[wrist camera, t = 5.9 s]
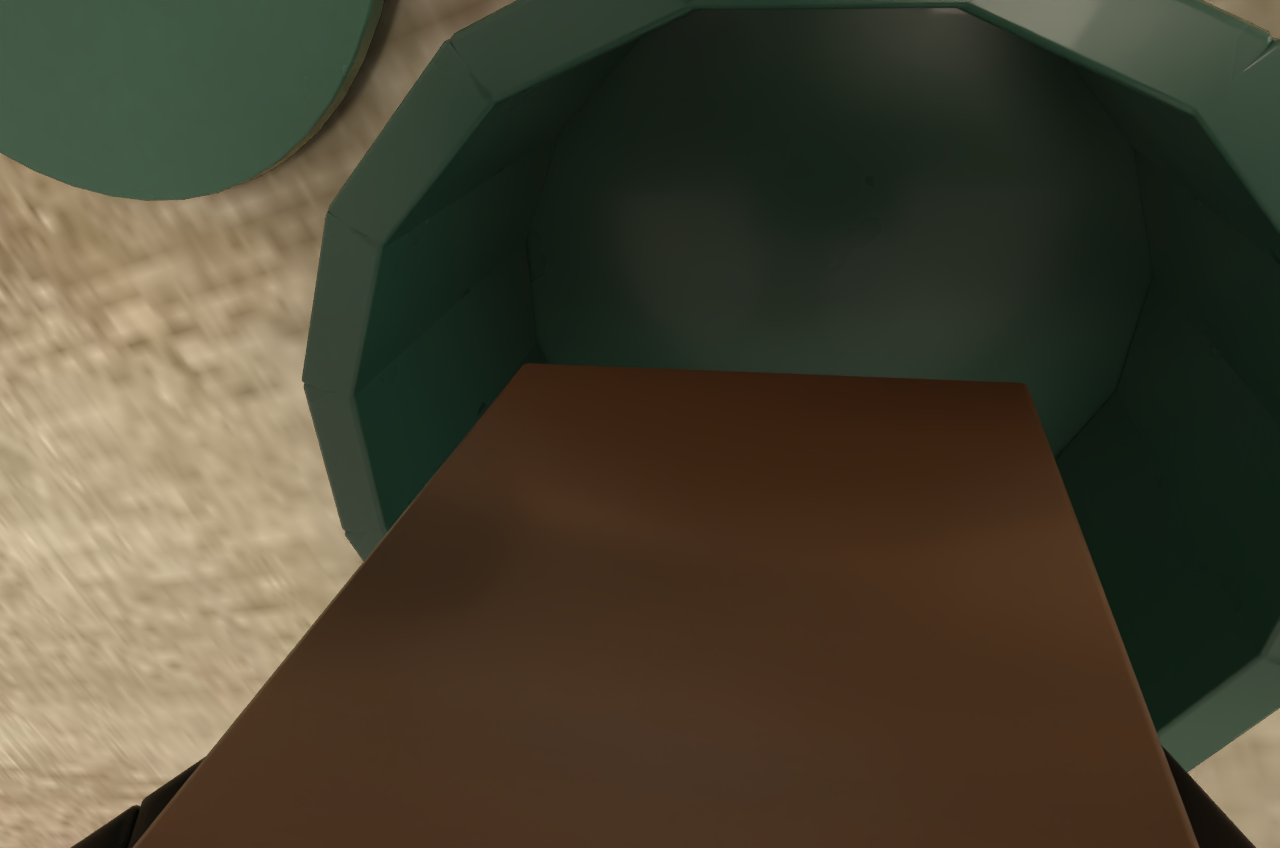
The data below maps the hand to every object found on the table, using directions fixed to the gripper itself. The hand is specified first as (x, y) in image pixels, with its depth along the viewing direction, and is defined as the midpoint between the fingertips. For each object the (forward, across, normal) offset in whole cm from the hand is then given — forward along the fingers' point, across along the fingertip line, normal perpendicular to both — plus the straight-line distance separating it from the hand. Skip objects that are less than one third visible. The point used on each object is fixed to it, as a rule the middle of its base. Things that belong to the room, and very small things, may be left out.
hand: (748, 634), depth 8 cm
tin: (+10, 0, +1) cm, 11 cm away
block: (+1, 0, 0) cm, 1 cm away
